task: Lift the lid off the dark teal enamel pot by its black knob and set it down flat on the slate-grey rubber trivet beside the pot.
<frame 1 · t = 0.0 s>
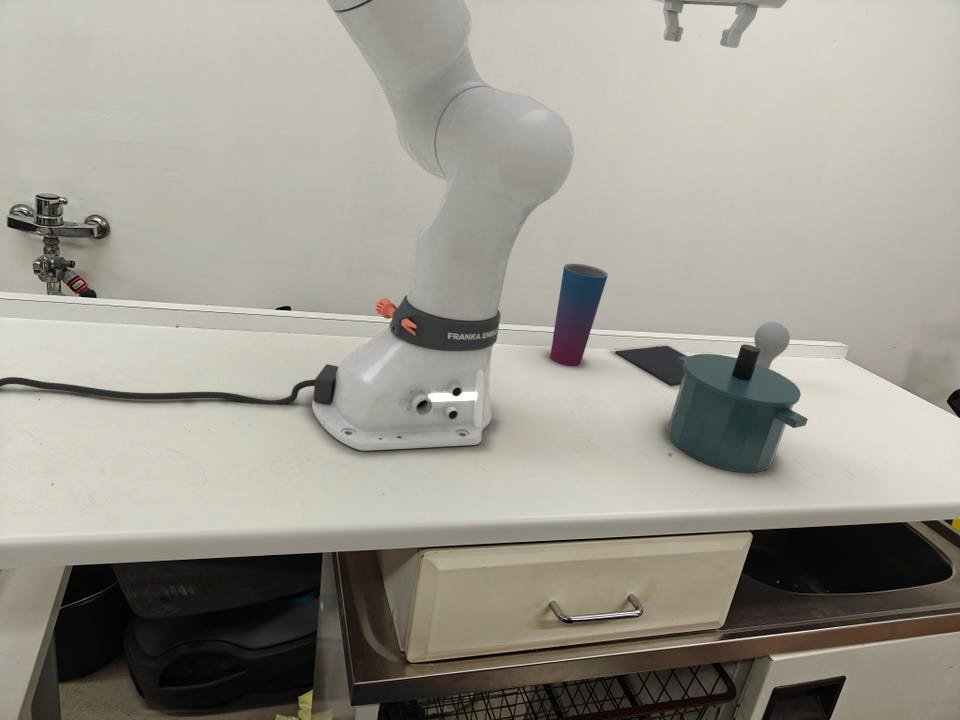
hand: (698, 43, 91), 48 cm above the worktop, tool pointing down, fingers open, 8 cm apart
trivet: (668, 365, 121), on the worktop
cup: (565, 360, 116), on the worktop
pot: (718, 445, 96), on the worktop
light bulb: (758, 378, 123), on the worktop
lid: (740, 380, 93), point 9 cm above the worktop, touching pot
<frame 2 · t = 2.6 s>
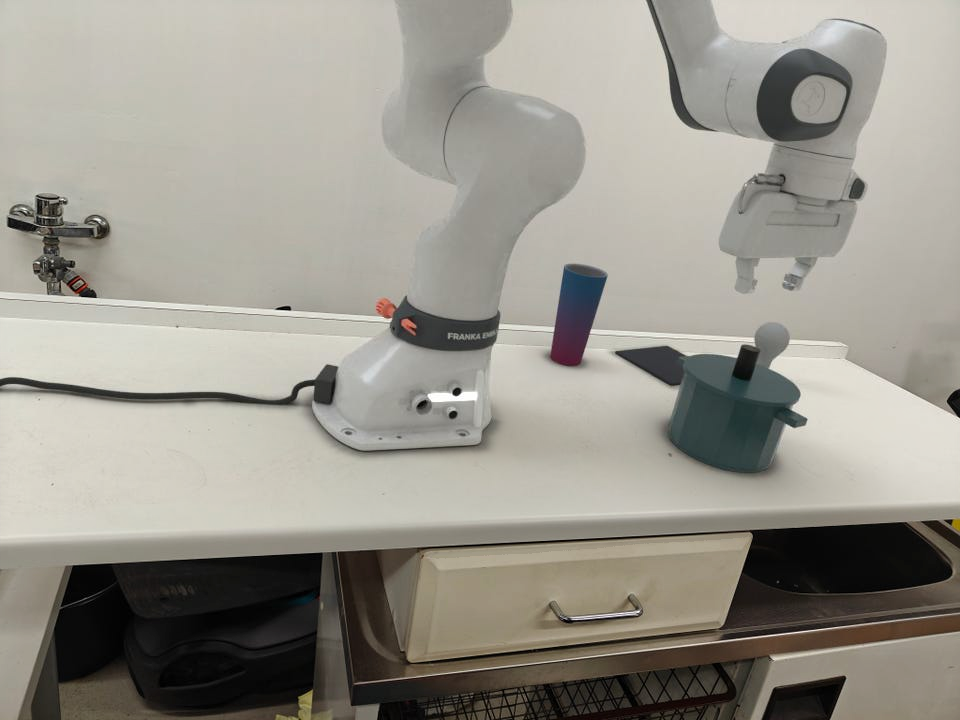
hand: (767, 290, 88), 22 cm above the worktop, tool pointing down, fingers open, 8 cm apart
nothing on the worktop moved.
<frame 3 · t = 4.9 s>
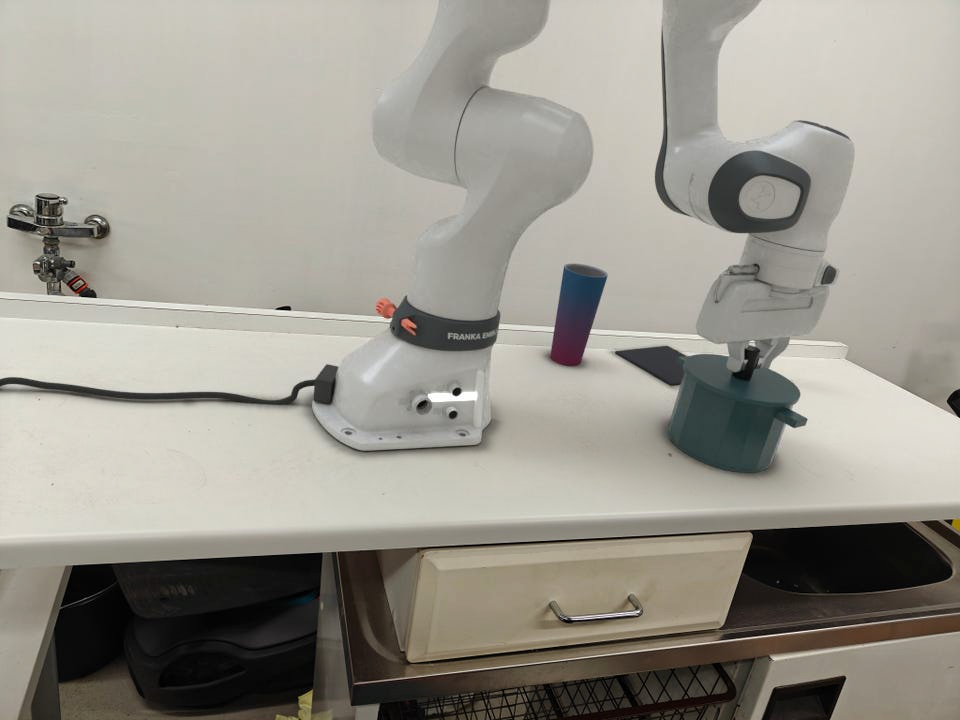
hand: (743, 368, 92), 11 cm above the worktop, tool pointing down, fingers closed on lid, 2 cm apart
lid: (739, 380, 93), point 10 cm above the worktop, touching gripper, pot
everything else where it was.
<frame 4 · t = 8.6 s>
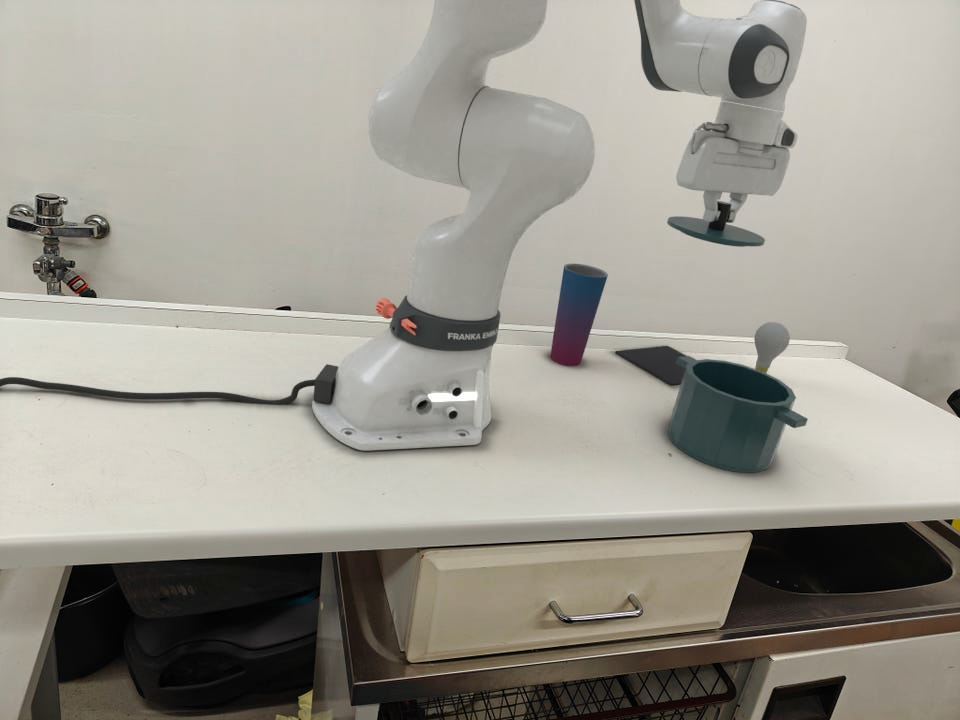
hand: (718, 221, 109), 25 cm above the worktop, tool pointing down, fingers closed on lid, 2 cm apart
lid: (714, 232, 110), point 24 cm above the worktop, touching gripper
everything else where it was.
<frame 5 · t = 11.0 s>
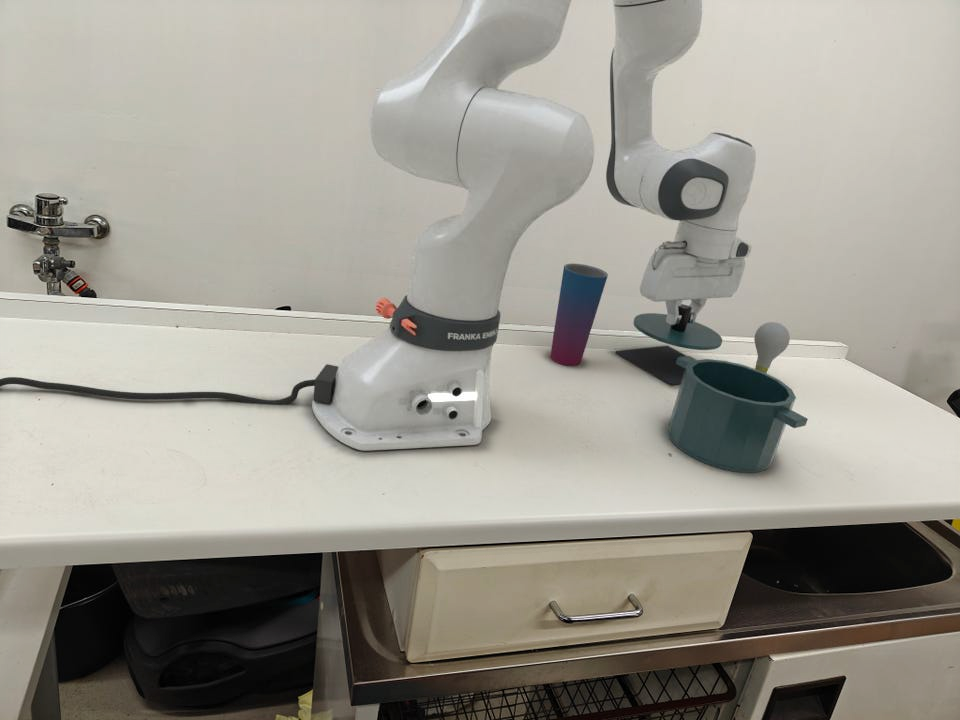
hand: (679, 322, 119), 8 cm above the worktop, tool pointing down, fingers closed on lid, 2 cm apart
lid: (676, 332, 120), point 6 cm above the worktop, touching gripper
everything else where it was.
when the fingers open (3 cm above the worktop, at t = 12.5 s): lid stays where it is, resting on trivet.
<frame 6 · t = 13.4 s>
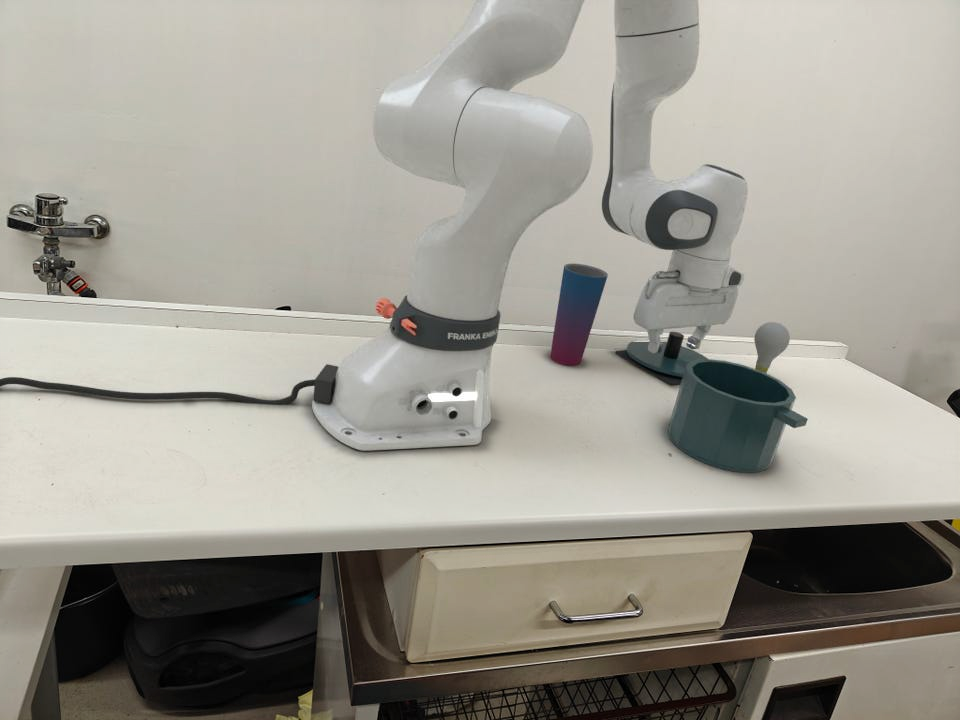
hand: (673, 349, 120), 3 cm above the worktop, tool pointing down, fingers open, 8 cm apart
lid: (669, 359, 121), point 1 cm above the worktop, touching trivet
everything else where it was.
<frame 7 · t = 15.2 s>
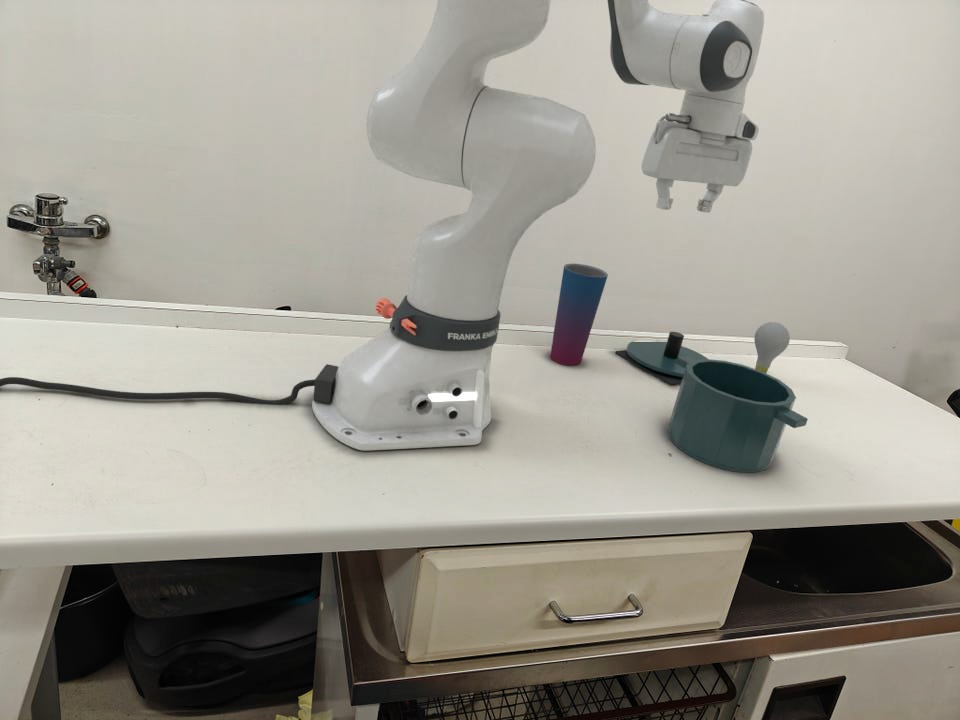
hand: (683, 210, 114), 25 cm above the worktop, tool pointing down, fingers open, 8 cm apart
nothing on the worktop moved.
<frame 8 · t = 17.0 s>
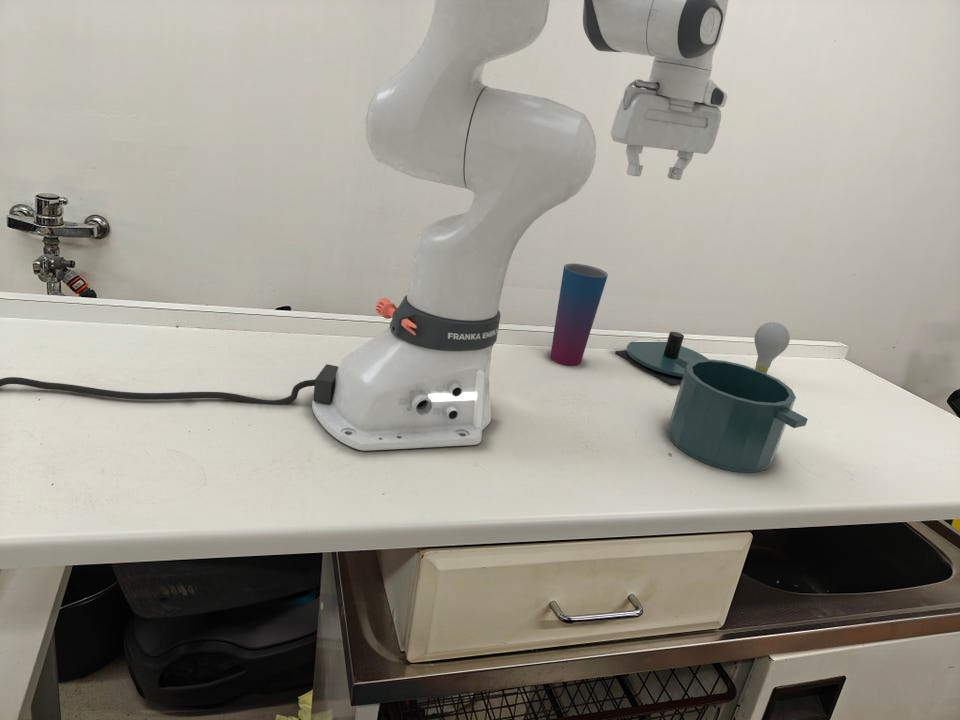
hand: (653, 177, 116), 29 cm above the worktop, tool pointing down, fingers open, 8 cm apart
nothing on the worktop moved.
at the end: lid inside the target area on the trivet (0.2 cm from its centre), point 1.0 cm above the trivet's base; lid tilted 0°; the gripper is holding nothing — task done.
